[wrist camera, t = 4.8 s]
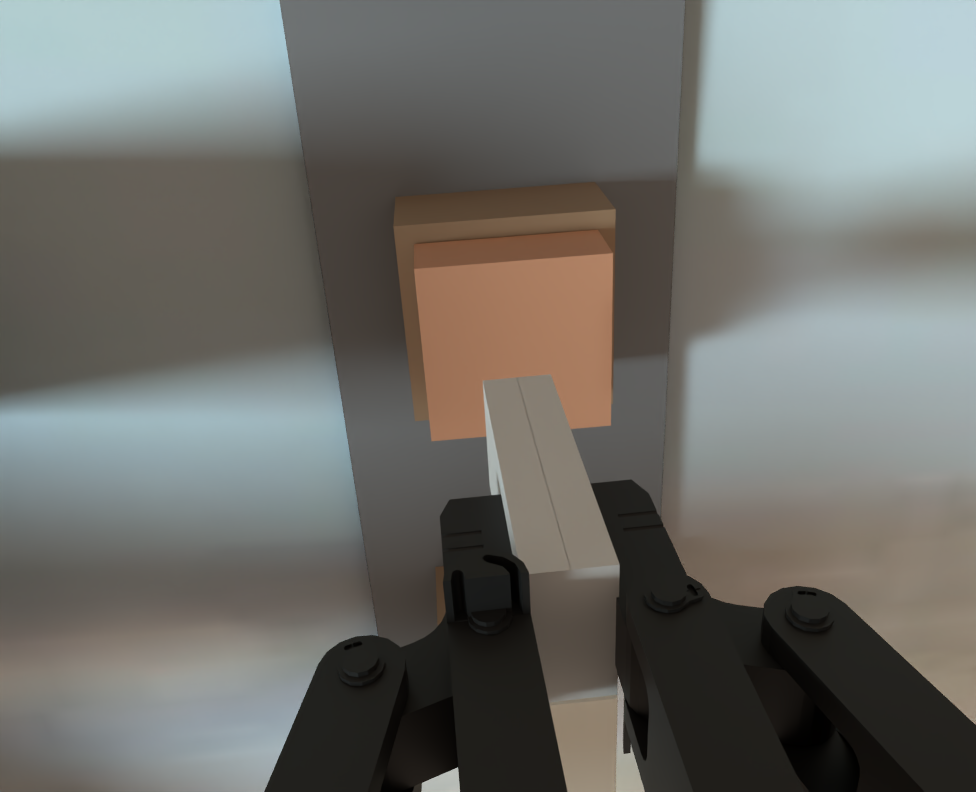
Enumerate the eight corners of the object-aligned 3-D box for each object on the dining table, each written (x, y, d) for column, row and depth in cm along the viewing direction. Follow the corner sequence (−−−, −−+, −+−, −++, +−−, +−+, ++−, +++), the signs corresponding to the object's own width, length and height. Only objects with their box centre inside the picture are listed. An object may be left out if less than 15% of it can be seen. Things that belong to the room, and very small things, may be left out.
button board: (388, 682, 36) (385, 759, 32) (216, -441, 19) (174, -522, 16) (648, 656, 36) (672, 729, 33) (697, -463, 20) (754, -545, 16)
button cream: (461, 701, 33) (468, 819, 29) (451, 603, 31) (457, 714, 27) (588, 688, 34) (615, 803, 29) (588, 589, 31) (617, 698, 27)
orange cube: (428, 361, 28) (431, 441, 24) (413, 212, 26) (413, 268, 21) (579, 348, 28) (610, 425, 24) (578, 199, 26) (613, 253, 22)
